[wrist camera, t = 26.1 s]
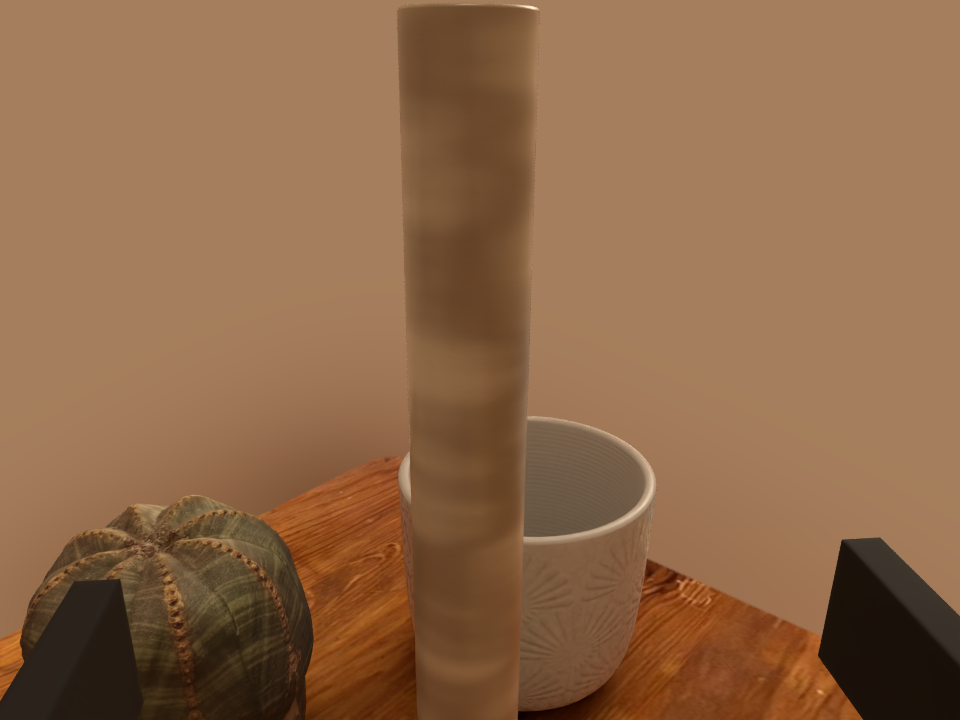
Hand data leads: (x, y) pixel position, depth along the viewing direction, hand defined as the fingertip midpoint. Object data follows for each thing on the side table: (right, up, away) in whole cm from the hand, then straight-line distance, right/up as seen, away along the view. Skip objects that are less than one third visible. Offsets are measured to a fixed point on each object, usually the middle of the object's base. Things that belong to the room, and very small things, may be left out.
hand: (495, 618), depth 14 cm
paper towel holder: (-1, -15, +14) cm, 21 cm away
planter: (+2, -11, +27) cm, 30 cm away
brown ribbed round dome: (-13, -13, +21) cm, 28 cm away
